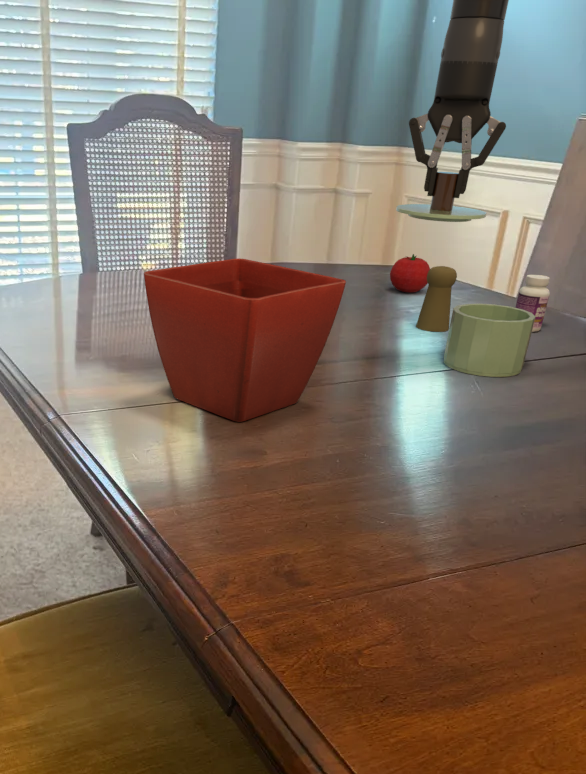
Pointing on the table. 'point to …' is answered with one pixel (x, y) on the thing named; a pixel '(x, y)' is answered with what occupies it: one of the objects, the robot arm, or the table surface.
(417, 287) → the tomato
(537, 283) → the pill bottle
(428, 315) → the pepper mill
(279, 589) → the table surface
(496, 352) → the pot
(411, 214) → the pot lid
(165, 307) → the flower pot
